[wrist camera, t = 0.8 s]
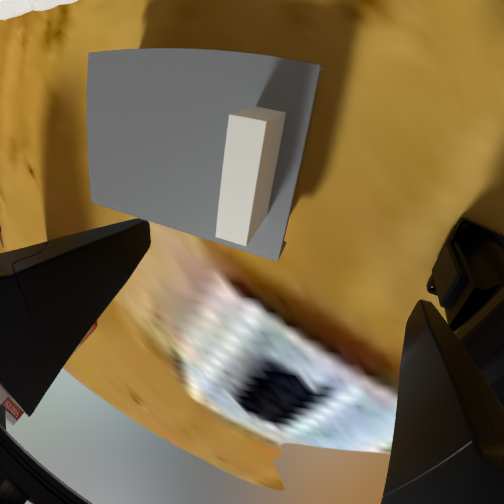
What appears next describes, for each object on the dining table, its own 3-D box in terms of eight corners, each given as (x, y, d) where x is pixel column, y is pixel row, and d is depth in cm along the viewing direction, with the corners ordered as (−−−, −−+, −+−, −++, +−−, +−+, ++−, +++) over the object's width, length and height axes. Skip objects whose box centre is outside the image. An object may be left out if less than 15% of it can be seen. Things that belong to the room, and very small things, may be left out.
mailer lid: (324, 67, 14) (308, 60, 10) (285, 245, 21) (260, 297, 16) (108, 51, 17) (48, 57, 13) (107, 193, 24) (60, 222, 19)
